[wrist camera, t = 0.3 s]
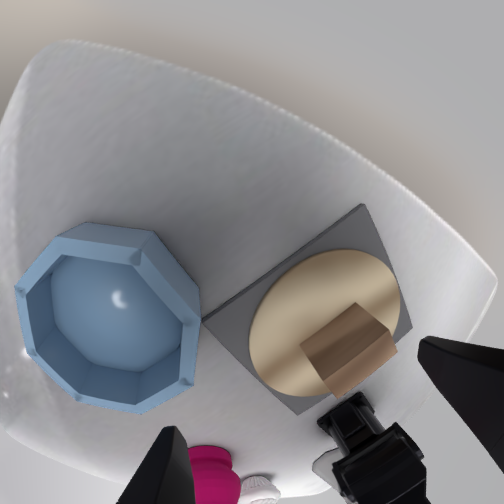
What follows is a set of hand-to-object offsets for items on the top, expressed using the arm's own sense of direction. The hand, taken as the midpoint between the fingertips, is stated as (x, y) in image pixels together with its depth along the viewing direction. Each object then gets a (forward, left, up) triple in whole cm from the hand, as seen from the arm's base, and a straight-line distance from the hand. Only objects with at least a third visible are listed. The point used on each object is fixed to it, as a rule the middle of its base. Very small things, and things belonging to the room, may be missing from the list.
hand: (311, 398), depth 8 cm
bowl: (+3, +10, -14) cm, 17 cm away
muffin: (-29, +18, -14) cm, 37 cm away
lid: (-10, -3, -13) cm, 17 cm away
